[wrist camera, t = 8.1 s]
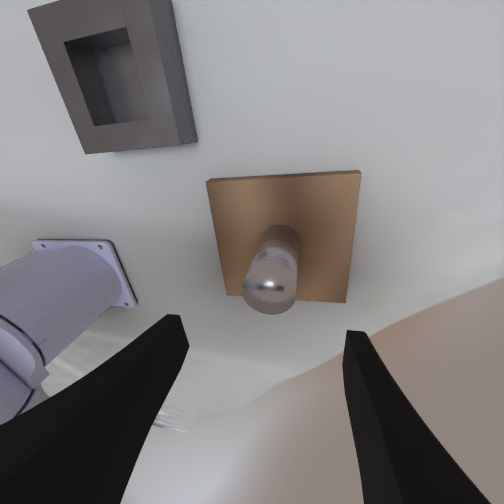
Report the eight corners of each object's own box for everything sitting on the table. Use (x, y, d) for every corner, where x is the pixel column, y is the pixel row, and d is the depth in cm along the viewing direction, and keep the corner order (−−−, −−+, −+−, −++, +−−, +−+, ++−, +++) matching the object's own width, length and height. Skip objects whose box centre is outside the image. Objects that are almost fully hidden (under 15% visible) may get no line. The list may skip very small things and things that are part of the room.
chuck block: (112, 150, 18) (85, 154, 15) (69, 26, 14) (27, 10, 12) (197, 141, 16) (180, 145, 14) (170, 0, 13) (142, -25, 10)
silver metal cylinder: (267, 261, 18) (251, 316, 13) (256, 229, 17) (234, 275, 12) (303, 255, 17) (301, 311, 12) (294, 220, 16) (288, 267, 11)
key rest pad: (229, 288, 22) (226, 295, 21) (210, 178, 17) (205, 181, 16) (343, 295, 19) (345, 303, 19) (358, 170, 15) (361, 173, 14)
